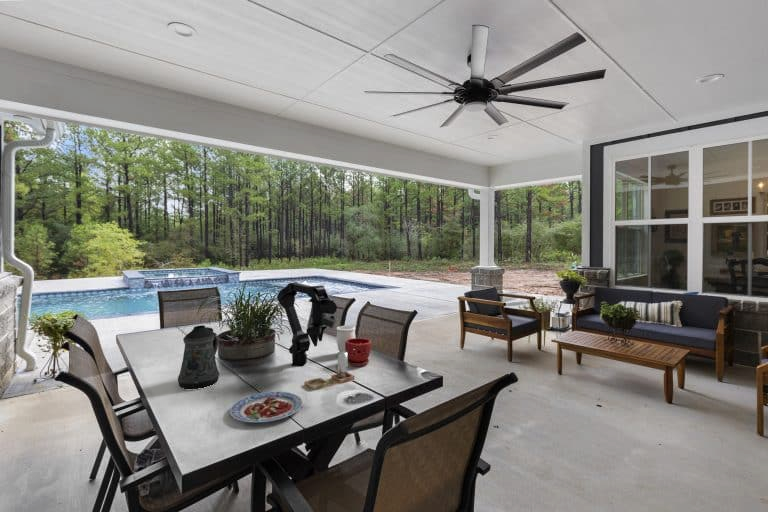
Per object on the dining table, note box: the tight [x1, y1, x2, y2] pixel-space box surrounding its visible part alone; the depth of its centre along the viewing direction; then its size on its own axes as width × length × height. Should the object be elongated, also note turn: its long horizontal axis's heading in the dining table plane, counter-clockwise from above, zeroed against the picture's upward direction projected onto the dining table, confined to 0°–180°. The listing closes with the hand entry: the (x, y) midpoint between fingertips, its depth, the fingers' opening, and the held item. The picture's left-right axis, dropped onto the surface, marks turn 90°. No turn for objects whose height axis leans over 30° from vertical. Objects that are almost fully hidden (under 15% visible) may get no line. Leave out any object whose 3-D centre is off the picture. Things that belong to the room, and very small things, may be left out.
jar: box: [336, 325, 356, 352], centre depth 208 cm, size 11×10×15 cm
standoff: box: [337, 351, 349, 379], centre depth 170 cm, size 4×4×12 cm
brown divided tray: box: [302, 372, 357, 392], centre depth 166 cm, size 22×8×2 cm, turn 126°
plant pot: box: [345, 337, 372, 367], centre depth 193 cm, size 13×13×12 cm
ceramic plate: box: [229, 391, 304, 424], centre depth 140 cm, size 26×26×3 cm
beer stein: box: [177, 324, 220, 390], centre depth 168 cm, size 16×19×25 cm
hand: (318, 343), depth 183 cm, fingers open, 9 cm apart
